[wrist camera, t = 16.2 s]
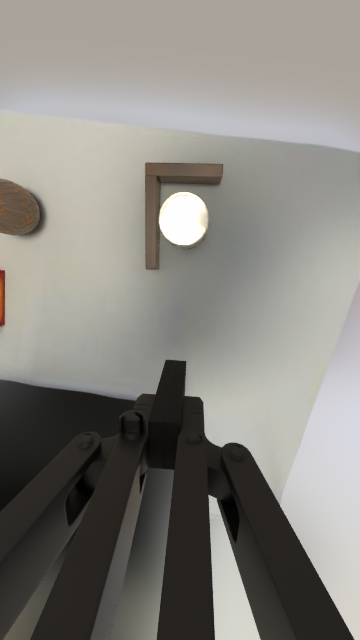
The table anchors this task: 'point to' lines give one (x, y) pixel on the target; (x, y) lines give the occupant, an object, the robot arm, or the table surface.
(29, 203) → the vase
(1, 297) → the baking soda box
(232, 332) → the table surface
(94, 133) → the table surface
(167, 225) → the green soda can
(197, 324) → the table surface
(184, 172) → the corner
